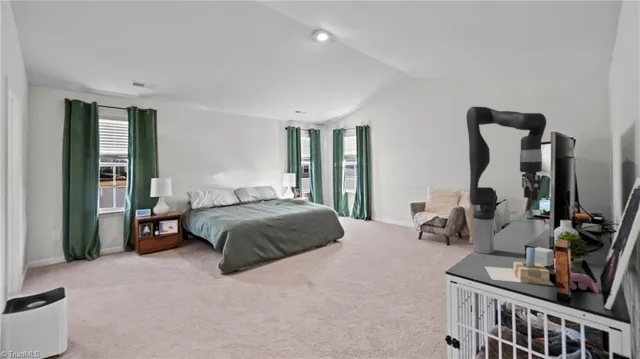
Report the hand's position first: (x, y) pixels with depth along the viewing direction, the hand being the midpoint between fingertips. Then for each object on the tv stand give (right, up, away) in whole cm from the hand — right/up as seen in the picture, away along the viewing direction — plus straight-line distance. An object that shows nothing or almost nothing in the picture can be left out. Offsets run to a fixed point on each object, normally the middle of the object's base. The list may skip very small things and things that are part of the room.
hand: (530, 198), depth 122 cm
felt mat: (-10, -31, -6) cm, 33 cm away
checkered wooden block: (-8, -30, -10) cm, 33 cm away
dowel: (-8, -30, -10) cm, 33 cm away
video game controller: (+2, -31, -20) cm, 37 cm away
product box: (+8, -30, +4) cm, 31 cm away
